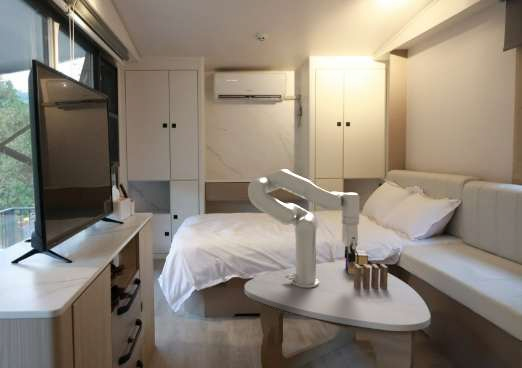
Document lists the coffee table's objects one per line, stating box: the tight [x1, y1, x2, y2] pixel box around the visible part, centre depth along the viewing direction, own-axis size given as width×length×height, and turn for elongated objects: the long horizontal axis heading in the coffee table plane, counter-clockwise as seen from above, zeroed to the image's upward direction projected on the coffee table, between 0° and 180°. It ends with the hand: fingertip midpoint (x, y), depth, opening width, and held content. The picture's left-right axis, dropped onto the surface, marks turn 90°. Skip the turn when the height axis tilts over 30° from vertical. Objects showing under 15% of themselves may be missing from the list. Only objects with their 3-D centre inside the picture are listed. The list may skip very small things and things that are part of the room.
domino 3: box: [362, 264, 371, 290], centre depth 159 cm, size 2×5×10 cm, turn 2°
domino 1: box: [347, 245, 353, 269], centre depth 158 cm, size 2×5×10 cm, turn 1°
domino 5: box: [379, 263, 389, 290], centre depth 159 cm, size 2×5×10 cm, turn 2°
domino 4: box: [370, 263, 380, 290], centre depth 159 cm, size 2×5×10 cm, turn 2°
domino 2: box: [353, 264, 362, 290], centre depth 159 cm, size 2×5×10 cm, turn 2°
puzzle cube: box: [345, 249, 369, 276], centre depth 180 cm, size 10×10×10 cm
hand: (349, 259), depth 158 cm, fingers closed on domino 1, 4 cm apart
